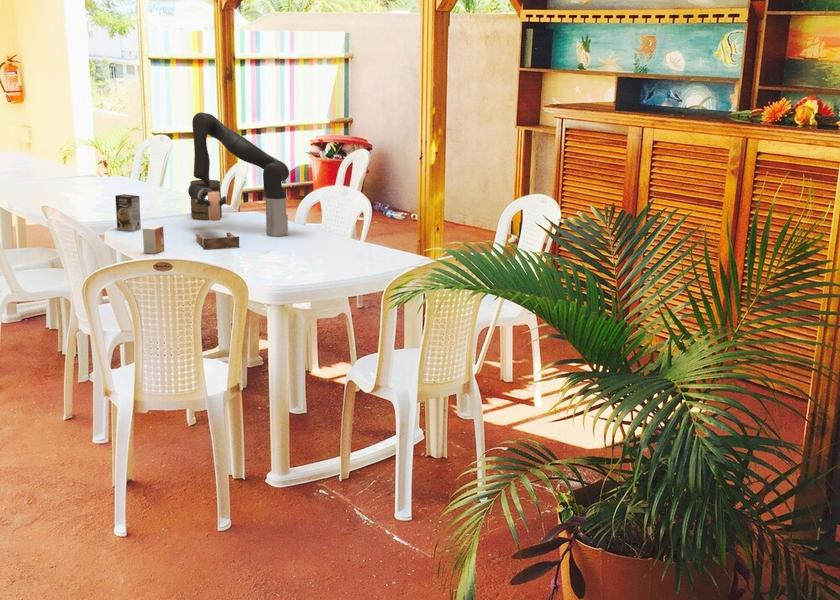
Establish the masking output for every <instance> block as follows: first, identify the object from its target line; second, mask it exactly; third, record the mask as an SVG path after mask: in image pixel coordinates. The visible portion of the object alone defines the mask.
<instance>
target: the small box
mask: <svg viewBox="0 0 840 600" xmlns="http://www.w3.org/2000/svg"><path fill="white" fill-rule="evenodd" d="M142 237H143V253H144V254H152V255H156V254H159V253H160V251H161V252H163V250H164V251H165V234H164V225H149V226H147V227H144V228H142ZM158 252H159V253H158Z"/></svg>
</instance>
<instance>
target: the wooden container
mask: <svg viewBox="0 0 840 600" xmlns="http://www.w3.org/2000/svg"><path fill="white" fill-rule="evenodd" d="M209 180H210V185H211V189H212V191H214V192H220V198H222V192H221V181H220V180H217V179H210V178H209ZM189 183H190V185H191V184H194V183H195V184H204V182H203V180H201V179H195V180H191V181H190V182H189ZM190 185H189V186H190ZM190 213H191V219H193V220H197V221H210V220H209V212H208V207H206V206H204V205H199V204H196V203H195V199H192V198H191V197H190ZM222 216H223V213H222V206H221V205H220V219H221V218H223V217H222Z"/></svg>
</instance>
